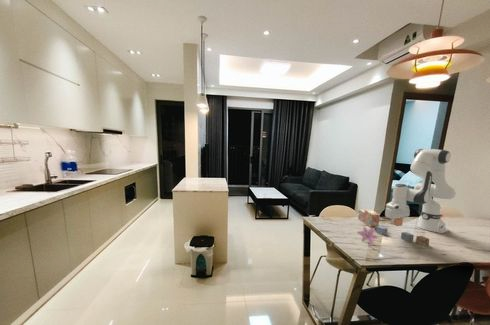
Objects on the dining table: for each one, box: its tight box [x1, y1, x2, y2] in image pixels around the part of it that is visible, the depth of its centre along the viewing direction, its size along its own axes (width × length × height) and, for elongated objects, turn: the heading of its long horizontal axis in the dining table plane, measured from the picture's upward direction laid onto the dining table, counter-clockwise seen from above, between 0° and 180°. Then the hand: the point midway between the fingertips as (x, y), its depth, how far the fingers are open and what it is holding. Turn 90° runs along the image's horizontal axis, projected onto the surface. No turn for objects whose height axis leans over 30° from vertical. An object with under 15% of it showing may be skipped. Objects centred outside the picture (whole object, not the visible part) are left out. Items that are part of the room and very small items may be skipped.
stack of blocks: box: [357, 209, 381, 229], centre depth 177 cm, size 21×6×12 cm, turn 176°
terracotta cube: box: [390, 217, 404, 227], centre depth 152 cm, size 5×5×5 cm
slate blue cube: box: [375, 225, 388, 236], centre depth 158 cm, size 5×5×5 cm
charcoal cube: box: [400, 231, 414, 243], centre depth 148 cm, size 5×5×5 cm
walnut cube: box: [415, 235, 430, 247], centre depth 142 cm, size 5×5×5 cm
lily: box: [356, 226, 379, 246], centre depth 143 cm, size 12×12×10 cm
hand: (396, 222), depth 152 cm, fingers closed on terracotta cube, 5 cm apart
